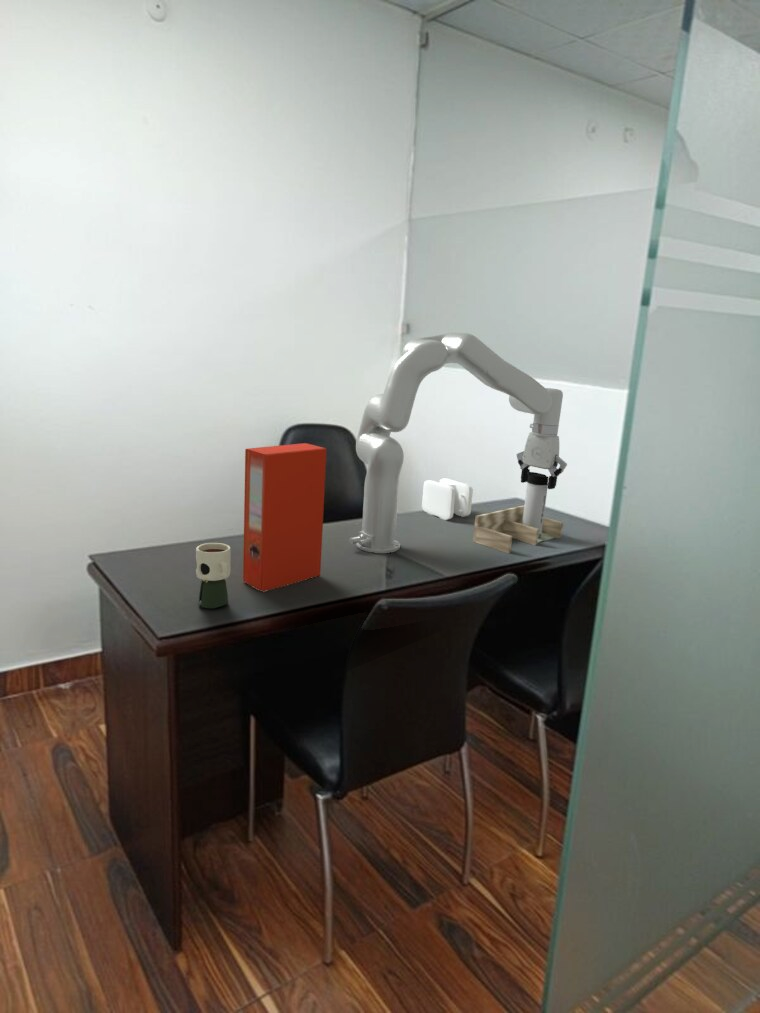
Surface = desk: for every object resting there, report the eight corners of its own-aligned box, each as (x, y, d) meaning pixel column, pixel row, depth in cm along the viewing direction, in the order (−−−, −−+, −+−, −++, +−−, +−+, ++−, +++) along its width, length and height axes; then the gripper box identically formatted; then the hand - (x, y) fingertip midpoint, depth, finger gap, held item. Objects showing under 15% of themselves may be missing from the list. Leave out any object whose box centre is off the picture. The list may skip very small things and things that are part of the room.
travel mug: (517, 531, 212) (524, 470, 207) (537, 532, 213) (545, 470, 208) (523, 537, 206) (531, 474, 201) (544, 538, 207) (552, 475, 202)
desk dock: (508, 553, 191) (511, 526, 189) (472, 541, 200) (475, 515, 198) (561, 537, 210) (564, 513, 208) (526, 527, 219) (529, 503, 217)
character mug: (186, 600, 145) (185, 543, 142) (216, 593, 150) (216, 538, 147) (209, 617, 137) (209, 557, 134) (240, 610, 142) (241, 552, 139)
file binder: (321, 576, 164) (326, 448, 156) (263, 593, 152) (266, 454, 144) (300, 567, 169) (304, 442, 161) (243, 582, 157) (244, 448, 149)
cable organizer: (419, 511, 231) (421, 478, 228) (441, 508, 237) (444, 476, 235) (449, 522, 220) (452, 488, 217) (471, 518, 226) (475, 485, 223)
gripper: (514, 426, 205) (507, 480, 209) (563, 435, 193) (555, 492, 197) (528, 425, 210) (521, 478, 214) (577, 433, 198) (568, 490, 202)
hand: (537, 485), depth 205 cm, fingers open, 9 cm apart
